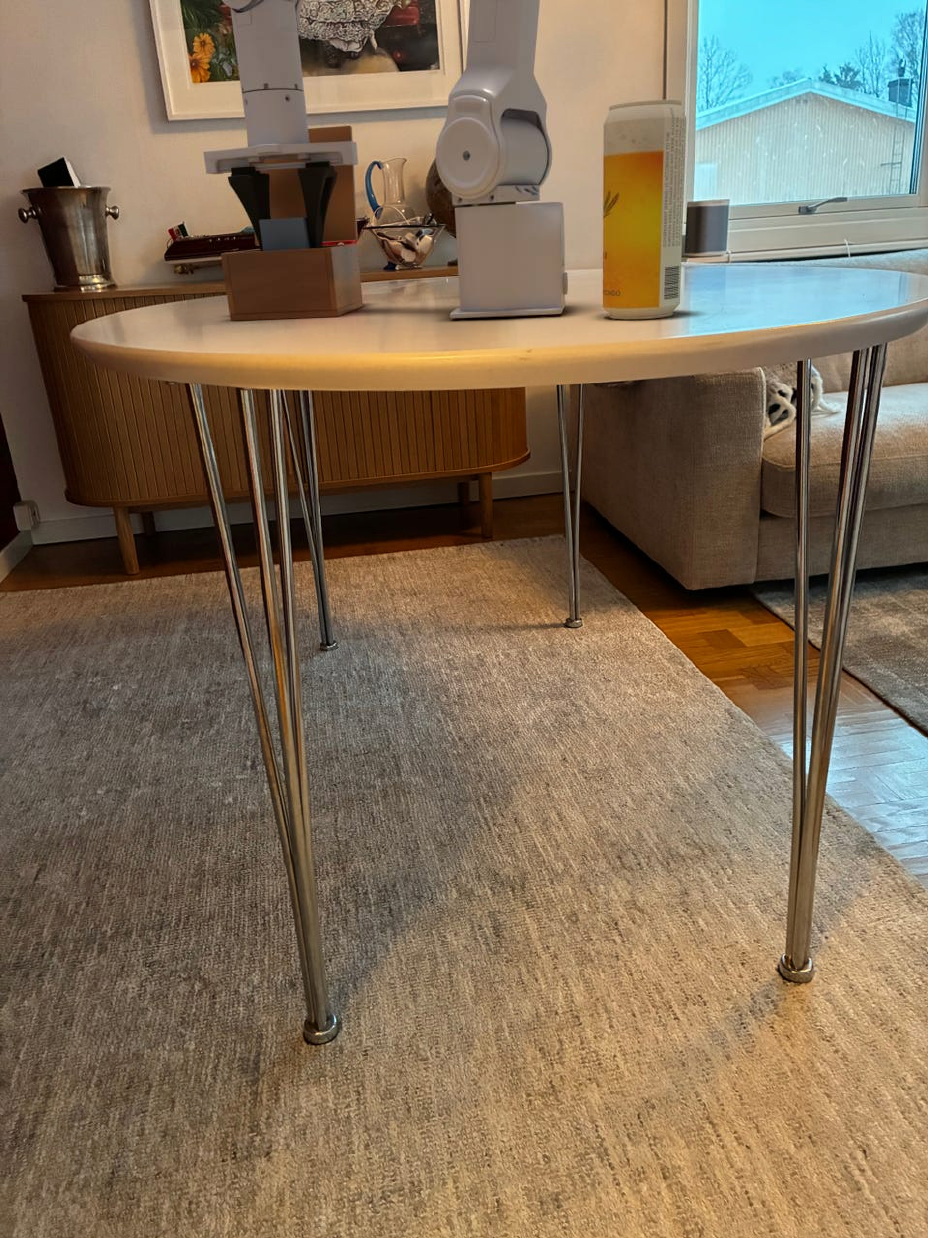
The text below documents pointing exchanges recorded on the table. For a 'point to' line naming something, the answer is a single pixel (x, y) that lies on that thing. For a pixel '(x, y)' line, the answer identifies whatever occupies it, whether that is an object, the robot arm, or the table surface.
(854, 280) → the table surface
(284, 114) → the robot arm
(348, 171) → the lid
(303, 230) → the block
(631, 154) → the beer can
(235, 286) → the chest
